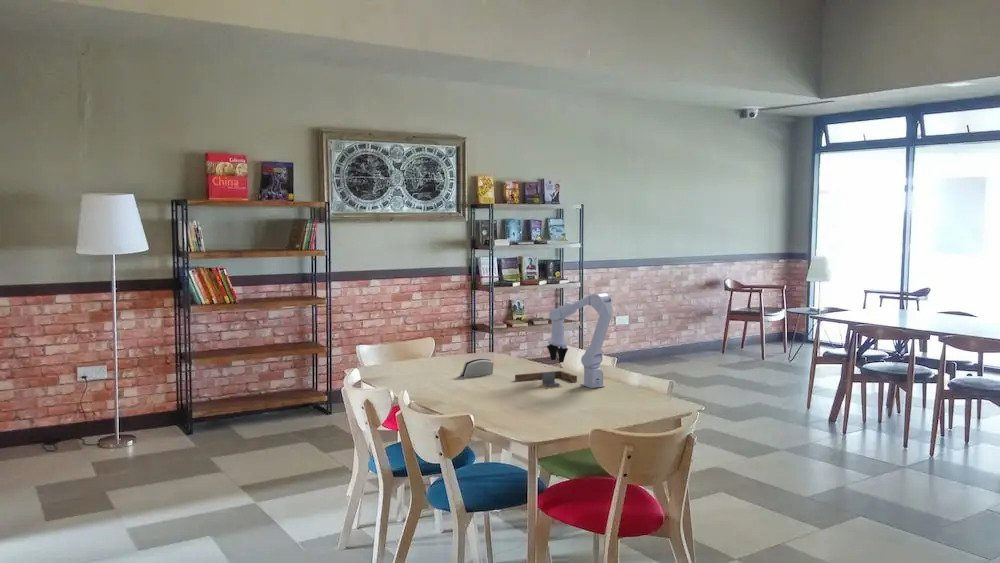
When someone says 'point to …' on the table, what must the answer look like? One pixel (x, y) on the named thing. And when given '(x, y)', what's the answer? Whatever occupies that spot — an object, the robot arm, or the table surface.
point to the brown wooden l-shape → (539, 376)
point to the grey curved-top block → (477, 367)
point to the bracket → (549, 379)
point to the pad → (550, 387)
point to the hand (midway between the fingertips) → (557, 361)
